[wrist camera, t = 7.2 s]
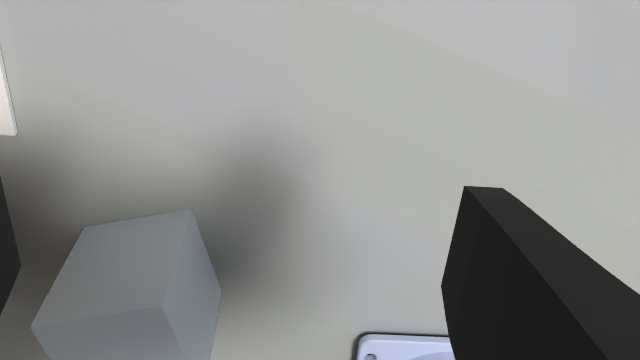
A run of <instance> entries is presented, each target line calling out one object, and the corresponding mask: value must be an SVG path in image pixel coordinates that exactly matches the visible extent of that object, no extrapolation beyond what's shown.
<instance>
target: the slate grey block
mask: <svg viewBox="0 0 640 360" xmlns="http://www.w3.org/2000/svg"><path fill="white" fill-rule="evenodd" d="M221 296H222V290H221V288H220V285H219V282H218V280H217V277H216V274H215V271H214V269H213V266H212V263H211V260H210V258H209V255H208V252H207V249H206V247H205V244H204V241H203V239H202V236H201V233H200V230H199V228H198V225H197V222H196V219H195V217H194V214H193V211H192V209H185V210H180V211H174V212H168V213H162V214H156V215H150V216H144V217H139V218H133V219H127V220H121V221H115V222H109V223H103V224H97V225H92V226H86V227H84V228H83V230H82V232H81V234H80V236H79V238H78V239H77V241H76V243H75V245H74V247H73V248H72V250H71V252H70V254H69V256H68V258H67V259H66V261H65V263H64V265H63V267H62V269H61V270H60V272H59V274H58V276H57V278H56V280H55V281H54V283H53V285H52V287H51V289H50V291H49V292H48V294H47V296H46V298H45V300H44V301H43V303H42V305H41V307H40V309H39V311H38V312H37V314H36V316H35V318H34V320H33V322H32V323H31V325H30V328H31V330H32V332H33V333H34V335H35V336H36V338H37V340H38V341H39V343H40V345H41V346H42V348H43V350H44V351H45V353H46V355H47V356H48V358H49V359H50V360H210V356H211V350H212V345H213V340H214V334H215V329H216V323H217V318H218V312H219V307H220V301H221Z"/></svg>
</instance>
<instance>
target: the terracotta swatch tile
mask: <svg viewBox="0 0 640 360" xmlns="http://www.w3.org/2000/svg"><path fill="white" fill-rule="evenodd" d="M17 134H18V131H17V126H16V121H15V116H14V111H13V107H12V102H11V97H10V92H9V87H8V83H7V78H6V73H5V68H4V63H3V59H2V54H1V49H0V135H9V136H16V135H17Z"/></svg>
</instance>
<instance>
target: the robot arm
mask: <svg viewBox="0 0 640 360" xmlns="http://www.w3.org/2000/svg"><path fill="white" fill-rule="evenodd" d="M20 267H21V263H20V259H19V254H18V250H17V246H16V242H15V237H14V233H13V229H12V225H11V220H10V216H9V212H8V208H7V203H6V199H5V195H4V191H3V186H2V182H1V178H0V315H1V312H2V310H3V308H4V306H5V303H6V301H7V299H8V297H9V294H10V292H11V289H12V287H13V284H14V282H15V279H16V277H17V274H18V272H19V269H20ZM441 288H442V295H443V302H444V309H445V316H446V322H447V328H448V333H449V337H427V336H403V335H380V334H369V335H366V336H363V337H362V338H361V339H360V341H359V346H358V353H357V359H356V360H640V294H638V293H637V292H635V291H634V290H633V289H631V288H630V287H628V286H627V285H626V284H624V283H623V282H622V281H620V280H619V279H618V278H616V277H615V276H614V275H612V274H611V273H610V272H608V271H607V270H606V269H604V268H603V267H602V266H601V265H599V264H598V263H597V262H595V261H594V260H593V259H592V258H590V257H589V256H588V255H587V254H585V253H584V252H583V251H581V250H580V249H579V248H578V247H576V246H575V245H574V244H573V243H572V242H570V241H569V240H568V239H567V238H565V237H564V236H563V235H562V234H560V233H559V232H558V231H557V230H556V229H554V228H553V227H552V226H551V225H549V224H548V223H547V222H546V221H545V220H543V219H542V218H541V217H540V216H538V215H537V214H536V213H535V212H534V211H532V210H531V209H530V208H529V207H527V206H526V205H525V204H524V203H522V202H521V201H520V200H518V199H517V198H516V197H514V196H513V195H512V194H510V193H509V192H507V191H506V190H505V189H503V188H492V187H474V186H464V189H463V193H462V198H461V202H460V206H459V211H458V215H457V219H456V224H455V228H454V232H453V236H452V241H451V245H450V249H449V254H448V258H447V262H446V267H445V271H444V275H443V279H442V284H441ZM367 354H373V355H367Z"/></svg>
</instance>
